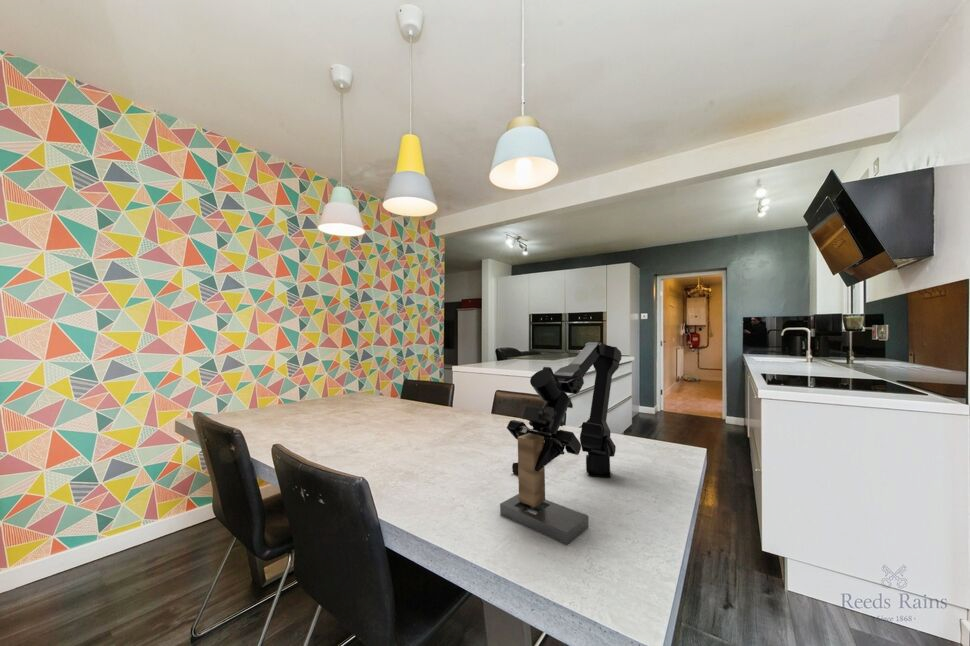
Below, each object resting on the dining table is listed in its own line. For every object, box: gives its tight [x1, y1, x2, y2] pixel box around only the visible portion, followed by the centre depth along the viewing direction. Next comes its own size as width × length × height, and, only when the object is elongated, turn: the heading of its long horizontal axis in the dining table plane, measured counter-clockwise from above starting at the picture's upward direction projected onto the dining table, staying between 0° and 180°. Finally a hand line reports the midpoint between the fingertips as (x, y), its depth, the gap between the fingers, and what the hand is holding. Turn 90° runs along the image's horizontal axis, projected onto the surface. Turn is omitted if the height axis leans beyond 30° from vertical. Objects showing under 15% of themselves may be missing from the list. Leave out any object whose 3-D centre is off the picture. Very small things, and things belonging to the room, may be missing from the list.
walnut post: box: [517, 433, 546, 507], centre depth 84 cm, size 4×4×15 cm
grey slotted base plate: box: [499, 493, 589, 546], centre depth 81 cm, size 18×9×2 cm, turn 46°
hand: (527, 467), depth 83 cm, fingers closed on walnut post, 4 cm apart
